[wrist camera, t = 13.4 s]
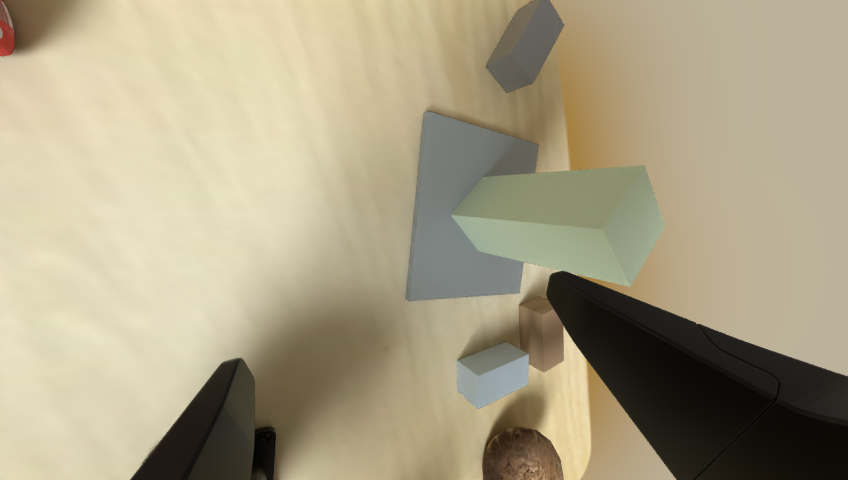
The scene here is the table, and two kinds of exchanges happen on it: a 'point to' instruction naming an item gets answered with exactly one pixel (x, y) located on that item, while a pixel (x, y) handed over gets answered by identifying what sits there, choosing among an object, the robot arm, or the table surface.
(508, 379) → the dusty blue brick
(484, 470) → the mushroom
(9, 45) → the toy fire truck
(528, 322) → the walnut brick
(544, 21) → the charcoal brick
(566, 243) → the sage brick
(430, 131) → the slate mat
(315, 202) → the table surface
